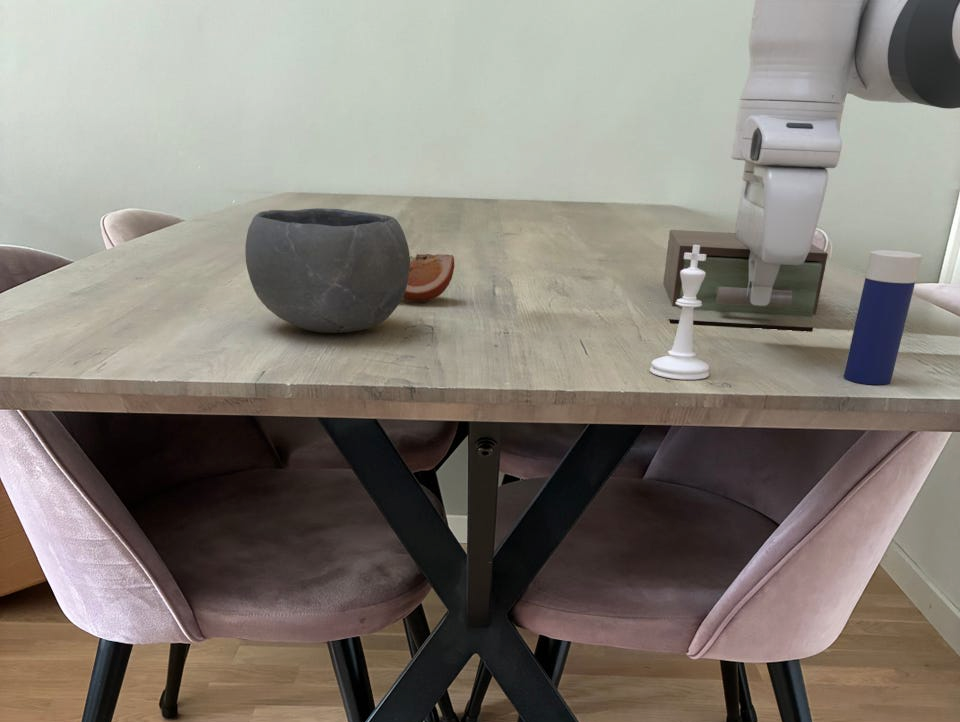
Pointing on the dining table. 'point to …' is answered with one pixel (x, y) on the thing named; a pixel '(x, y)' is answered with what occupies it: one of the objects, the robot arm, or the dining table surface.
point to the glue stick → (881, 316)
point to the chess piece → (685, 328)
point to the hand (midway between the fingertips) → (757, 303)
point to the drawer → (730, 286)
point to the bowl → (328, 267)
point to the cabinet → (720, 247)
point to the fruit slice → (428, 276)
